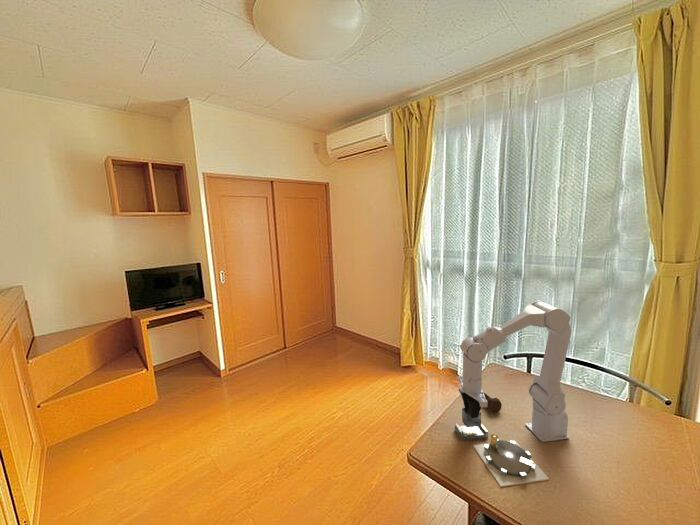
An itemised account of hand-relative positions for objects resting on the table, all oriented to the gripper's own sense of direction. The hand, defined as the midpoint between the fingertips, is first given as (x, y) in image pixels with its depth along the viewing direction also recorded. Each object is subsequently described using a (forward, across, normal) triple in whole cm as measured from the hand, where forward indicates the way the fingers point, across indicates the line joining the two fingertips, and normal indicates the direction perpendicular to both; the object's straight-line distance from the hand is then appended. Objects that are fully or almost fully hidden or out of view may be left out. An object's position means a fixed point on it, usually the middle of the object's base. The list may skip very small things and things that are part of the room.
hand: (471, 413), depth 95 cm
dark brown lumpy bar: (+8, -16, +13) cm, 22 cm away
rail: (+8, 0, 0) cm, 8 cm away
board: (+8, +12, +5) cm, 15 cm away
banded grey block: (+4, 0, 0) cm, 4 cm away
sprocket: (+8, +12, +5) cm, 15 cm away
